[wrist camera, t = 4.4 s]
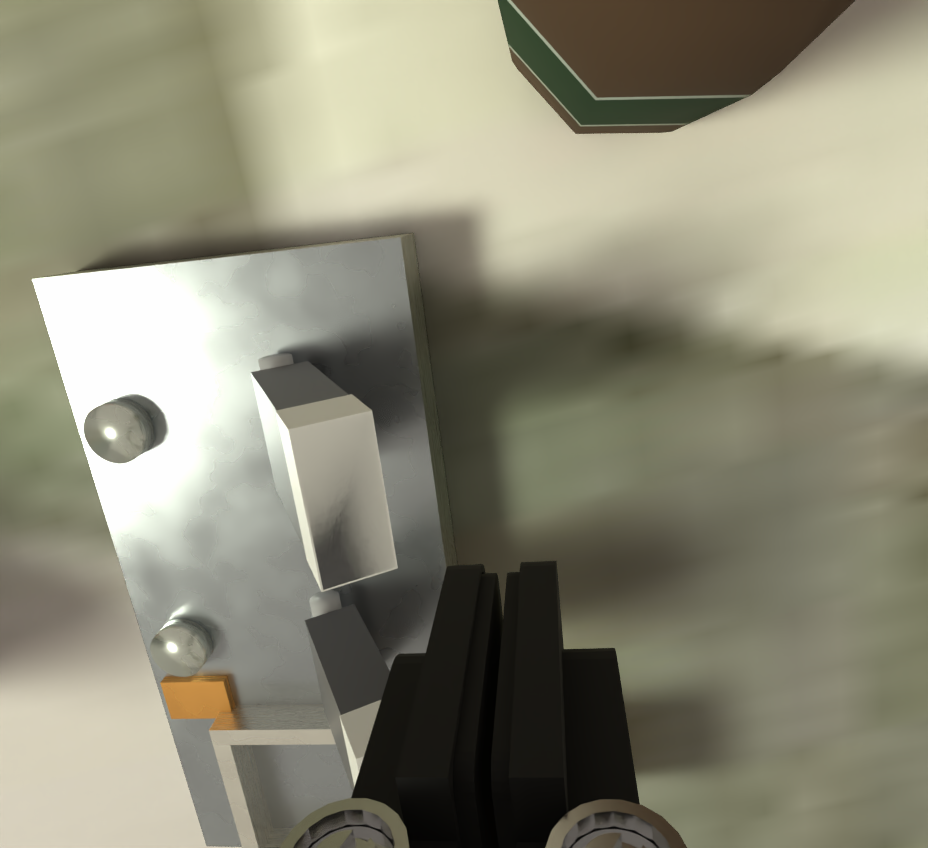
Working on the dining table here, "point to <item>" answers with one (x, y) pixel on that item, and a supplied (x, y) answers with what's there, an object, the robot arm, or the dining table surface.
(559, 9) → the beer bottle
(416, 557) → the breaker panel
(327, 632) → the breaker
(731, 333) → the dining table surface
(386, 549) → the block
